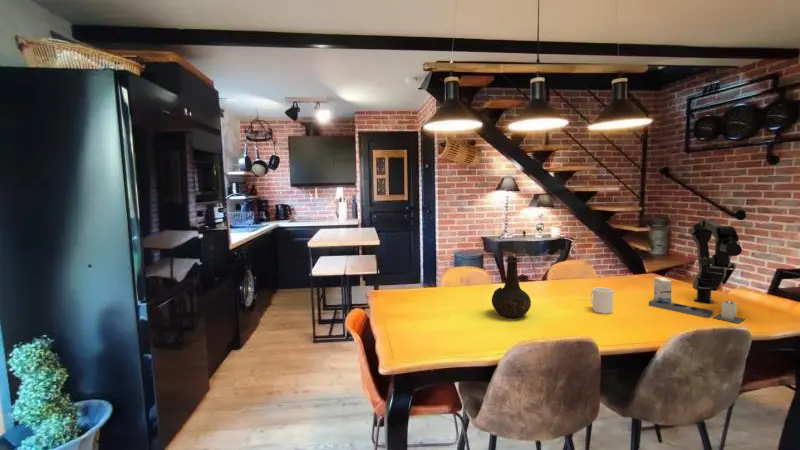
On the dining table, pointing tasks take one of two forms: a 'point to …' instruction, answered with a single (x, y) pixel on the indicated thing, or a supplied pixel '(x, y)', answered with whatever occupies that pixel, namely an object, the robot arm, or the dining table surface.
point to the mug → (602, 300)
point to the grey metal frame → (681, 308)
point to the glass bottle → (511, 294)
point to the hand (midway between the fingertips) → (720, 285)
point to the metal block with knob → (729, 310)
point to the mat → (737, 320)
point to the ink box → (662, 289)
